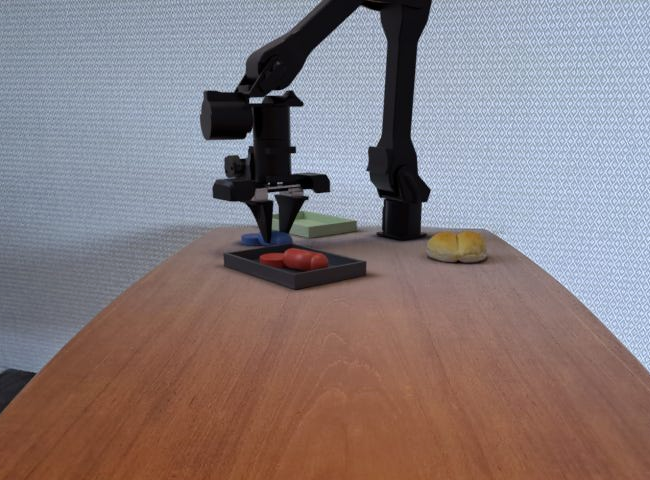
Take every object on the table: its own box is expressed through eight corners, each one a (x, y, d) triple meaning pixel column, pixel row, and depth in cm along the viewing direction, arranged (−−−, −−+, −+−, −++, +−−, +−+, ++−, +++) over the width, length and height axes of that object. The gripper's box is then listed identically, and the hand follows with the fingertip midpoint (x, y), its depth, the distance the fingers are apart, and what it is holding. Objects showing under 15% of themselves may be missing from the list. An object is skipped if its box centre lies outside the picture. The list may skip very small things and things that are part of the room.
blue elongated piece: (301, 250, 107) (300, 232, 106) (277, 253, 104) (276, 235, 103) (259, 239, 116) (258, 222, 115) (236, 242, 113) (235, 225, 112)
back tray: (356, 230, 123) (356, 220, 123) (308, 238, 117) (308, 226, 116) (303, 220, 135) (303, 210, 134) (257, 225, 128) (257, 215, 128)
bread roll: (428, 251, 106) (429, 225, 105) (486, 253, 104) (488, 227, 103) (423, 262, 99) (424, 234, 97) (485, 265, 97) (487, 237, 95)
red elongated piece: (337, 272, 91) (337, 252, 90) (313, 278, 88) (313, 257, 87) (277, 259, 98) (276, 240, 97) (253, 264, 95) (252, 245, 94)
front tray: (366, 275, 91) (366, 261, 91) (294, 289, 84) (294, 274, 83) (292, 254, 104) (291, 242, 103) (224, 266, 96) (223, 252, 96)
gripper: (290, 135, 114) (292, 228, 119) (191, 139, 103) (198, 241, 108) (332, 138, 106) (332, 237, 111) (229, 142, 95) (235, 252, 100)
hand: (275, 241), depth 108 cm, fingers closed on blue elongated piece, 3 cm apart
